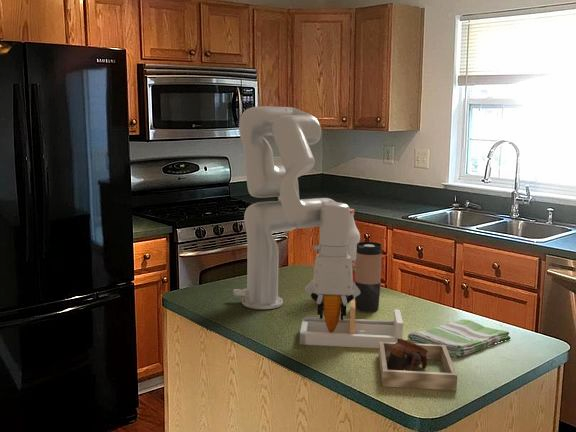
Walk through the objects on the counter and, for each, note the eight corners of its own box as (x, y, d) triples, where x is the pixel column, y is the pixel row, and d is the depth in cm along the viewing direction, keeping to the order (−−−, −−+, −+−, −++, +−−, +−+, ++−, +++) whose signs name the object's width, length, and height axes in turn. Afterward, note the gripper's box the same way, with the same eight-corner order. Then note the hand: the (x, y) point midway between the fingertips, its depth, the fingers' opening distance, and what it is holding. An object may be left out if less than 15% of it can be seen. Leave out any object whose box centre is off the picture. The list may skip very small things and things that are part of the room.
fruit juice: (346, 287, 217) (349, 206, 212) (364, 295, 209) (367, 210, 204) (324, 291, 212) (326, 208, 207) (341, 299, 204) (344, 212, 200)
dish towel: (405, 340, 171) (405, 328, 170) (459, 323, 185) (459, 312, 184) (458, 361, 157) (459, 347, 157) (512, 341, 171) (513, 328, 171)
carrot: (342, 331, 171) (344, 276, 168) (337, 337, 166) (339, 281, 164) (324, 328, 173) (326, 274, 170) (319, 335, 168) (321, 279, 165)
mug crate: (382, 386, 141) (383, 371, 141) (378, 355, 159) (379, 341, 158) (456, 390, 140) (457, 375, 139) (444, 358, 157) (445, 344, 157)
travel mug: (378, 305, 199) (381, 242, 195) (379, 313, 191) (382, 247, 188) (354, 304, 199) (356, 241, 196) (354, 311, 192) (356, 246, 189)
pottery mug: (375, 366, 153) (388, 334, 155) (409, 381, 155) (422, 349, 157) (396, 374, 142) (409, 339, 143) (432, 390, 143) (445, 355, 145)
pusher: (349, 343, 166) (350, 308, 164) (349, 333, 173) (350, 300, 171) (365, 344, 165) (367, 309, 164) (365, 334, 172) (366, 300, 171)
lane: (299, 344, 165) (300, 318, 164) (302, 329, 176) (303, 305, 175) (401, 349, 163) (403, 323, 162) (398, 334, 174) (399, 309, 172)
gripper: (299, 252, 163) (298, 321, 166) (367, 255, 161) (364, 324, 164) (302, 246, 170) (300, 311, 173) (366, 248, 169) (363, 314, 172)
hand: (331, 317), depth 169 cm, fingers closed on carrot, 4 cm apart
